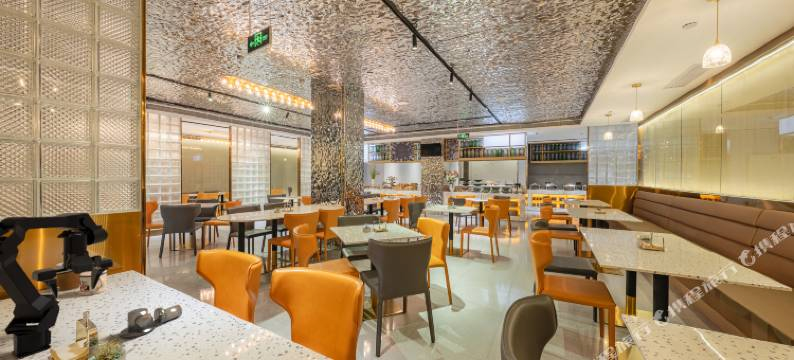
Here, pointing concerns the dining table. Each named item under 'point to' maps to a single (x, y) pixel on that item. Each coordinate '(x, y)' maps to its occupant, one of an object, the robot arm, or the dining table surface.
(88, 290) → the teacup with lid
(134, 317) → the elbow
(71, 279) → the disposable coffee cup
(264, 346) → the dining table surface
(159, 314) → the silver metal long piece
